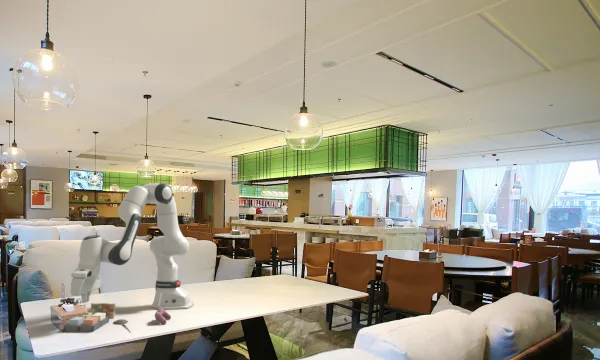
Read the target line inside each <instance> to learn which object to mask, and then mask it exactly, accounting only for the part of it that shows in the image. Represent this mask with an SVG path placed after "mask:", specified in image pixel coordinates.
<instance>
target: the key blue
mask: <svg viewBox="0 0 600 360" xmlns="http://www.w3.org/2000/svg"><path fill="white" fill-rule="evenodd" d="M83 320H84V317H78V316H74V317H71V318H68V323H67V324H68V325H79V324H81V323H83Z"/></svg>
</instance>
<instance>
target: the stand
mask: <svg viewBox="0 0 600 360" xmlns="http://www.w3.org/2000/svg"><path fill="white" fill-rule="evenodd" d="M89 313H92V315H94V314H96V313H106V317H109V319H115V315H116V314H115V313H116V303H114V302H112V303H111V302H109V303H106V302H105V303H103V302H102V303H101V302H99V303H98V302H91V304H90V312H89Z"/></svg>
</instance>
